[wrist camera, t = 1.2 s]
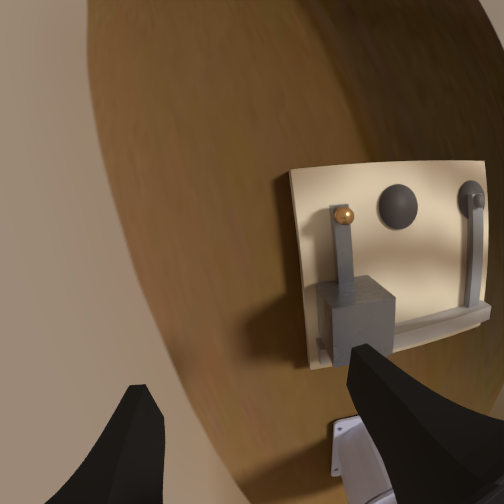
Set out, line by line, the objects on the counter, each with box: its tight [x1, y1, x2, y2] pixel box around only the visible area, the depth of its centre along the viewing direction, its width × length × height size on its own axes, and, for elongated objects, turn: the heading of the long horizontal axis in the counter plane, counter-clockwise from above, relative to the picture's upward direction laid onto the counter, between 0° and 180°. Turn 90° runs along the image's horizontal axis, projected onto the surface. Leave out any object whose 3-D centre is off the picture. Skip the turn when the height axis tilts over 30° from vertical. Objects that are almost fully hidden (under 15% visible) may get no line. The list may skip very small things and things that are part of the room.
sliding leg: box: [315, 203, 396, 368], centre depth 16 cm, size 8×4×4 cm, turn 8°
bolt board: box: [288, 161, 491, 370], centre depth 19 cm, size 14×16×3 cm
